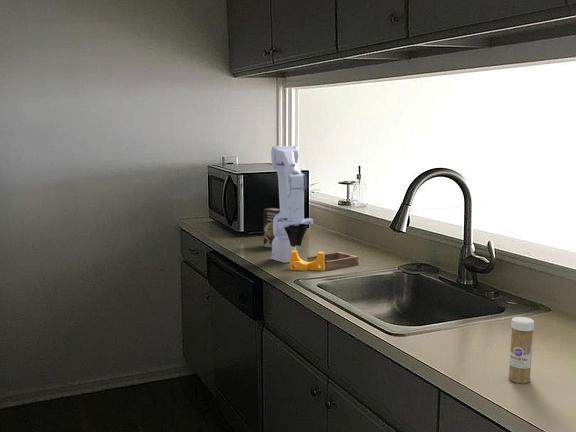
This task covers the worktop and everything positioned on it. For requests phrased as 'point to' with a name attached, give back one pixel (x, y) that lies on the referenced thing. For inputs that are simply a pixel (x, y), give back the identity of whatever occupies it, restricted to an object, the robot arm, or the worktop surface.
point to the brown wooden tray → (336, 260)
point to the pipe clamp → (299, 264)
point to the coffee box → (269, 225)
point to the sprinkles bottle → (521, 349)
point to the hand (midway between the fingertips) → (295, 245)
